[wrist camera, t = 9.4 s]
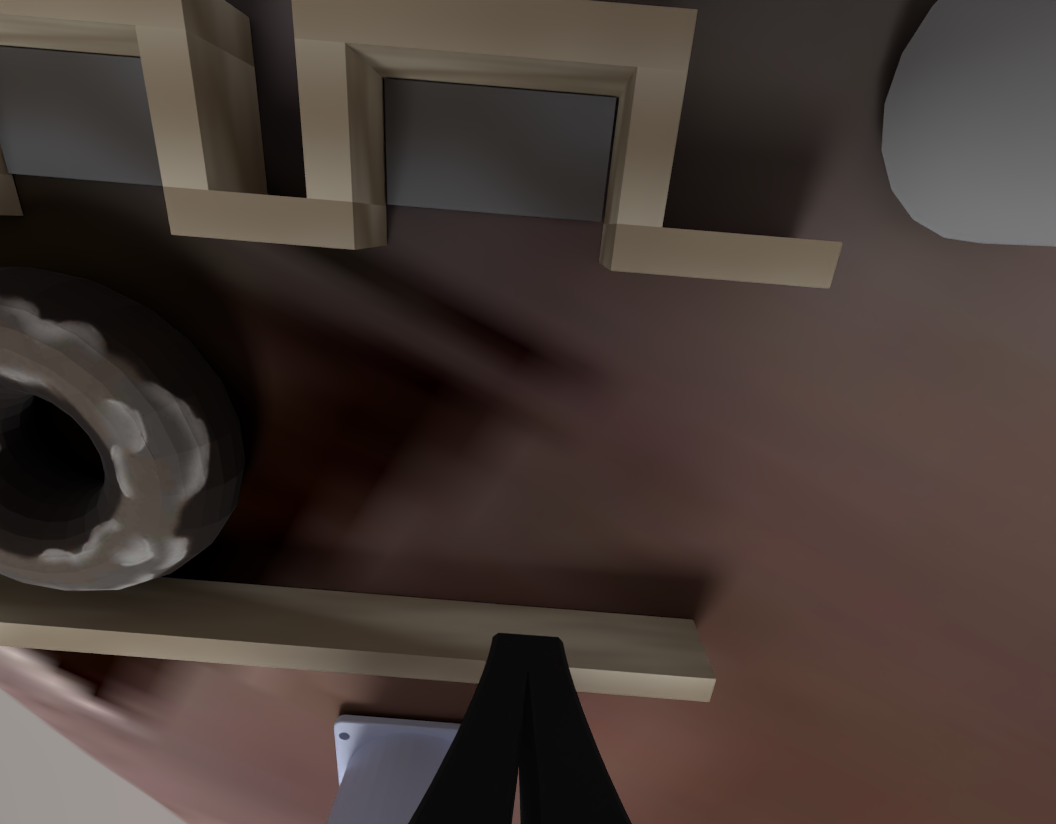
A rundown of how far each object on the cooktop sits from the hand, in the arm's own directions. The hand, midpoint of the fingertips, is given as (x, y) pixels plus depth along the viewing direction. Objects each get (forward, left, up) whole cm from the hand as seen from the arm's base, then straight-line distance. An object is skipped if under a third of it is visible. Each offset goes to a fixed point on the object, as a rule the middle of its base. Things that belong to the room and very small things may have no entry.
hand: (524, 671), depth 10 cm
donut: (0, +16, -10) cm, 19 cm away
